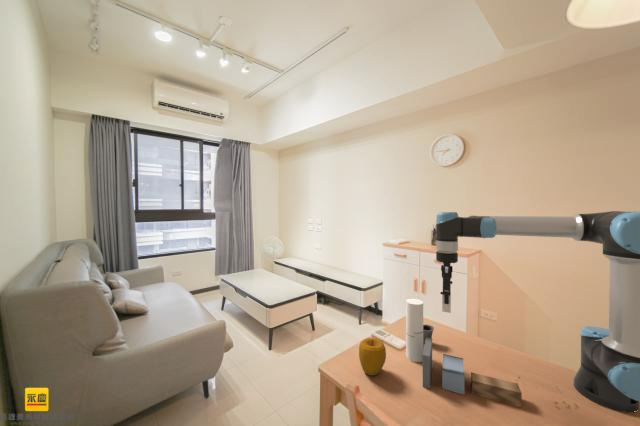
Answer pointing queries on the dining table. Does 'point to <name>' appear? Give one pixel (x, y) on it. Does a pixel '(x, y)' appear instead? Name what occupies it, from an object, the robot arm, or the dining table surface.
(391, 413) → the dining table surface
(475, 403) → the dining table surface
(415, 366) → the dining table surface
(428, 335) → the pipe
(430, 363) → the wall
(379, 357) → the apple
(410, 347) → the cylindrical container
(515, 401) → the wooden slab
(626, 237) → the robot arm
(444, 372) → the block
